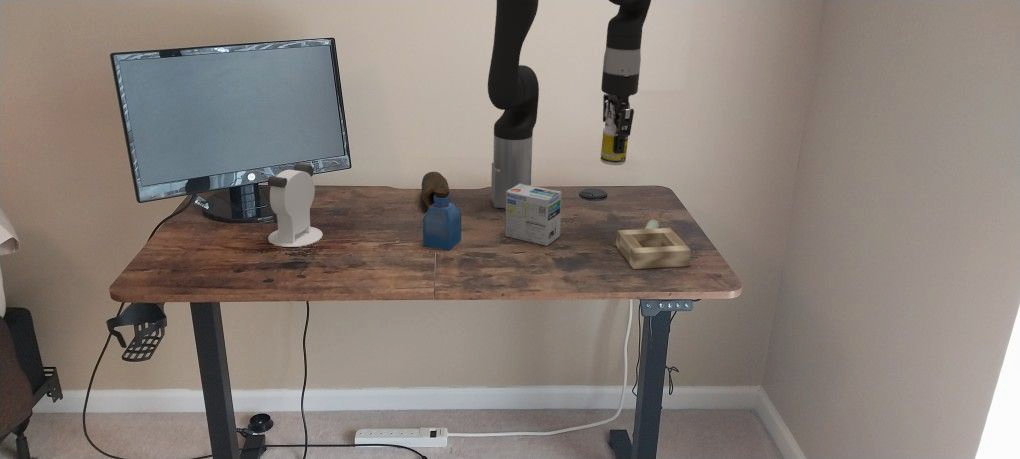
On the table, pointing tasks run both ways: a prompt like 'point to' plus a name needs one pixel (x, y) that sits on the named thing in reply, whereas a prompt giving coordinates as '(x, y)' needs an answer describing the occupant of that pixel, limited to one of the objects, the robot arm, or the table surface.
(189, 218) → the table surface
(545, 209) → the light bulb box
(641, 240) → the socket block
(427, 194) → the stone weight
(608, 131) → the supplement bottle
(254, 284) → the table surface
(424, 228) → the perfume bottle
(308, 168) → the headphone stand
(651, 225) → the lying dowel
